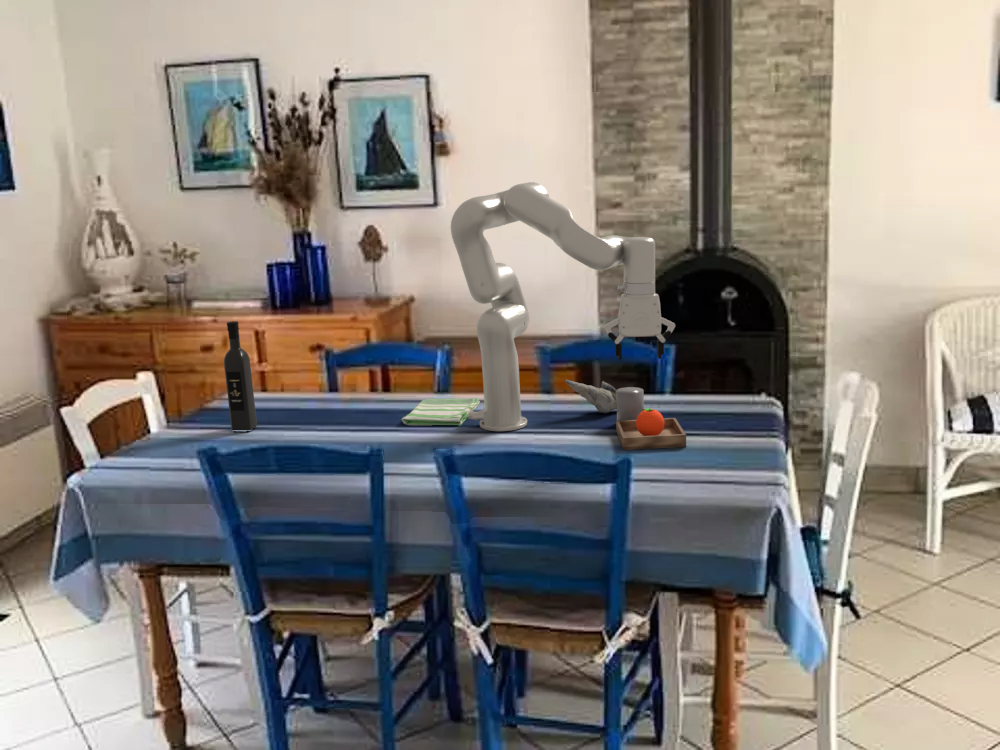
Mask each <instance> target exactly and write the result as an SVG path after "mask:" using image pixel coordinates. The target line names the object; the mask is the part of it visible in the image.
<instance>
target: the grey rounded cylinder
mask: <svg viewBox="0 0 1000 750" xmlns="http://www.w3.org/2000/svg"><path fill="white" fill-rule="evenodd" d="M615 390H616V404H617V409H616V421H626V420H636V419H637V417H638V415H639V414H640V413H641V412H642V410H643V409H645V398H644V389H643V388H641V387H634V386H627V387H620V388H617V389H615Z"/></svg>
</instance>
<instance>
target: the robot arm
mask: <svg viewBox="0 0 1000 750" xmlns="http://www.w3.org/2000/svg"><path fill="white" fill-rule="evenodd" d="M516 222H522V223H523V224H524V225H527V226H529V227H530V228H532V229H534V230H536V231H537V232H539V233H541V234H542V235H544V236H546V237H548V238H549V239H551V240H552V241H553V243H554V244H555V245H556V246H557V247H559V249H560V250H562V251H563V252H564V253H565V254H567V255H568V256H570V258H573V259H574V260H575V261H578V263H579V262H580V263H581V264H583V265H584V266H587V267H588V268H590V269H593V270H595V271H606V270H609V269H611V268H614V267H617V266H623V280H622V281H623V282H622V284H617V291H621V292H623V293H622V294H621V295H620V300H619V306H618V307H619V308H618V317H616V318H615V319H613V320H611V321H609V322H608V323H606V324H604V325H603V329H604V331H605V333H606V334H607V336H608V338H609V339H611V340H612V342H614V350H615V351H614V354H615V355H614V356H615V357H617V359H618V360H619V361H621V360H622V359H623V356H622V355H623V344H622V340H623V339H624V338H637V337H642V338H643V337H656V338H657V341H656V357H657V358H658V359H660V360H661V359H662V356H663V355H664V353H665V342H666V341H667V340H668V339H669V337H671V335H672V333H673V331H674V330H675V328H676V323H675V322H672V321H671V320H668V319H667V318H664V317H662V313H661V312H662V311H661V301H660V296H659V294H658V293H656V241H655V240H654V239H653V238H652V237H647V236H635V237H634V236H633V237H628V236H621V235H618V234H617V235H616V234H615V235H614V234H612V235H611V234H610V235H607V236H603V237H600V236H597V235H595V234H593V233H591V232H590V231H588V230H586V229H585V228H583V227H582V226H580V225H579V224H578V223H577V222H576V221H575V219H574V216H573V213H572V211H571V210H570V208H569V207H567V206H566V205H564V204H561V203H559V202H558V201H556V200H554V199H552V198H551V197H550V195H549V193H548V191H547V189H546V188H545V186H543V185H541V184H539V183H537V182H524V183H518V184H515V185H513V186H511V187H510V188H509V189H507V190H504V191H500V192H497V193H496V192H495V193H492V194H486V195H480V196H475V197H471V198H470V199H467V200H465V201H464V202H462V203H461V204H460V205H459V206H458V207H457V209H456V210H455V211H454V213H453V214H452V217H451V220H450V234H451V239H452V241H453V244H454V247H455V250H456V252H457V256H458V258H459V262H460V265H461V269H462V271H463V275H464V279H465V282H466V284H467V288H468V290H469V293H470V296H471V297H472V298H473V300H474V301H475V302H477V303H478V304H484V305H485V304H491V308H489V309H487V310H485V311H484V312H483V313H482V314H481V315H480V317H479V318H478V321H477V324H476V334H477V340H478V343H479V348H480V357H481V358H480V359H481V369H482V370H481V371H482V384H483V402H484V404H483V405H484V407H483V409H480V410H479V411H475V410H473V411H472V412H468V417H467V419H468V420H472V421H477V420H478V421H479V420H480V421H479V427H480V428H481V429H483V430H485V431H491V432H509V431H510V432H511V431H516V430H519V429H523V428H524V427H526V426H527V425H528V419H527V418H526V417H525V416H522V407H521V389H520V388H521V387H520V366H519V355H518V351H517V347H516V344H515V338H517V337H520V336H521V335H522V334H523V333H524V332H525V331H527V330H528V327H529V324H530V315H529V311H528V307H527V304H526V300H525V296H524V294H523V291H522V289H521V284H520V282H519V278H518V277H517V274H516V273H515V271H514V270H513V269H512V267H510V266H509V265H507V264H506V263H503V262H496V260H495V258H494V255H493V251H492V249H491V245H490V243H489V242H488V240H487V239H486V237H485V236H484V235H485V234H484V231H485V230H491V229H494V228H498V227H502V226H506V225H509V224H512V223H516ZM662 325H664V326H666V327H667V329H666V330H665V331H664V332H663V333H662ZM616 326H617V328H618V333H617V334H616V335H615V333H614V332H613V331H612V328H614V327H616Z"/></svg>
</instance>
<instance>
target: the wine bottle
mask: <svg viewBox="0 0 1000 750" xmlns="http://www.w3.org/2000/svg"><path fill="white" fill-rule="evenodd" d="M239 327H240V325H239V321H238V320H237V321H236V320H234V321H228V322H226V328H227V329H226V330H227V333H228V343H229V350H227V352H226V353H225V355H224V356H223V368H224V376H225V377H224V378H225V385H226V391H227V392H226V393H227V394H226V395H227V402H228V409H229V418H230V428H231V431H232V430H251V429H253V428H254V427H256V426H257V427H258V421H257V412H256V404H255V396H254V395H255V394H254V385H253V378H252V377H253V376H252V369H251V368H252V366H251V359H250V356H249V354H248V352H247V351H246V350H245V349H243V348H242V346H241V341H240V339H241V338H240V332H239V330H240V328H239ZM257 427H256V428H257ZM253 430H254V429H253Z"/></svg>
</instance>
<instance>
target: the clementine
mask: <svg viewBox="0 0 1000 750" xmlns="http://www.w3.org/2000/svg"><path fill="white" fill-rule="evenodd" d="M636 427H637V429H638V431H639V432H640V433H641V434H642V435H643V436H656V435H659V434H660V433H661V432H662V430H663V428H664V417H663V415H662V414H661V412H659V411H658V410H656V409H654V408H649V407H648V408H644V409H643V410H642V412H641V413H640V414H639V415H638V417H637V419H636Z"/></svg>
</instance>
